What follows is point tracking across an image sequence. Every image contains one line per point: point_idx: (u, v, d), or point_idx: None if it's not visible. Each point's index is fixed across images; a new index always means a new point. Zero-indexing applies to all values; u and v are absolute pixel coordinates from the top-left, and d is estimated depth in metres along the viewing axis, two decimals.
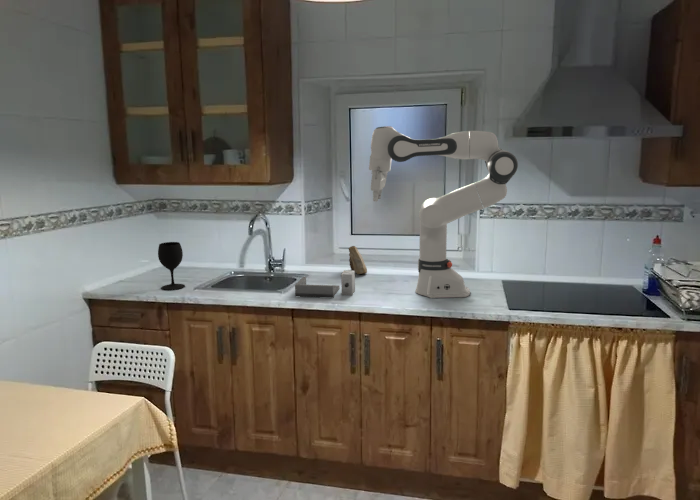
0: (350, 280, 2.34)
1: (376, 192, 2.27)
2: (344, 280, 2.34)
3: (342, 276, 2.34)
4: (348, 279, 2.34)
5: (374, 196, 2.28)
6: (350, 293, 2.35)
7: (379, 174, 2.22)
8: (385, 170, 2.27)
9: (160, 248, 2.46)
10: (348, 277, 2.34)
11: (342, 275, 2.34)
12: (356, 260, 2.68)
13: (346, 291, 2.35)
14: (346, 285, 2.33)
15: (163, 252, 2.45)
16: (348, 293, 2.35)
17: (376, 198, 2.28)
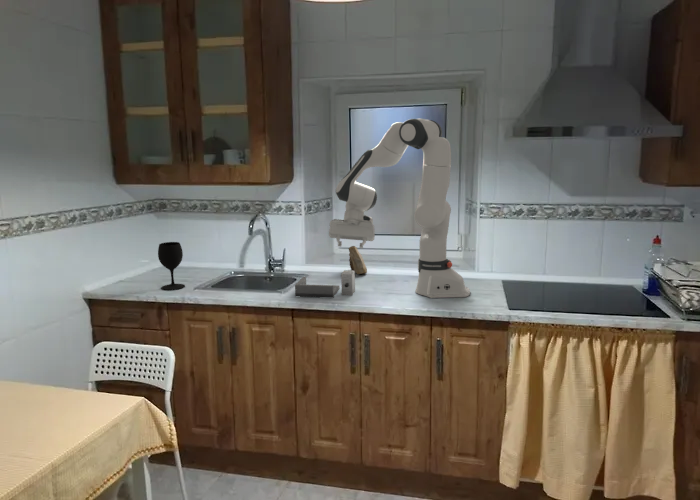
0: (350, 280, 2.34)
1: None
2: (344, 280, 2.34)
3: (342, 276, 2.34)
4: (348, 279, 2.34)
5: None
6: (350, 293, 2.35)
7: None
8: (345, 218, 2.50)
9: (160, 248, 2.46)
10: (348, 277, 2.34)
11: (342, 275, 2.34)
12: (356, 260, 2.68)
13: (346, 291, 2.35)
14: (346, 285, 2.33)
15: (163, 252, 2.45)
16: (348, 293, 2.35)
17: (338, 242, 2.47)
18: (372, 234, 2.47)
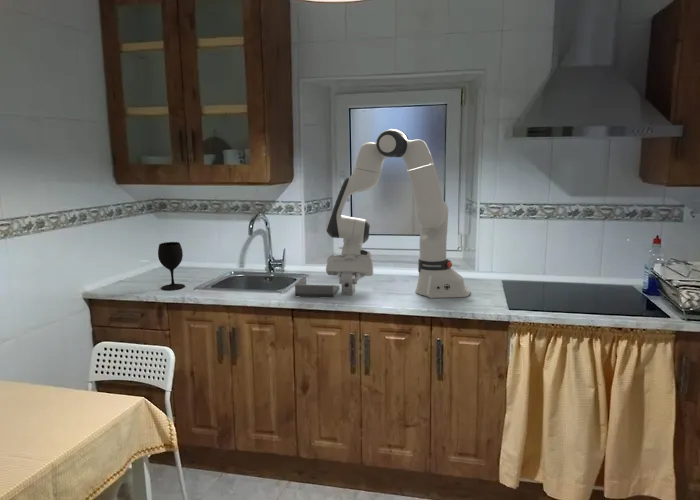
0: (350, 280, 2.34)
1: (337, 274, 2.40)
2: (344, 280, 2.34)
3: (342, 276, 2.34)
4: (348, 279, 2.34)
5: None
6: (350, 293, 2.35)
7: None
8: (342, 254, 2.42)
9: (160, 248, 2.46)
10: (348, 277, 2.34)
11: (342, 275, 2.34)
12: None
13: (346, 291, 2.35)
14: (346, 285, 2.33)
15: (163, 252, 2.45)
16: (348, 293, 2.35)
17: None
18: (370, 269, 2.37)
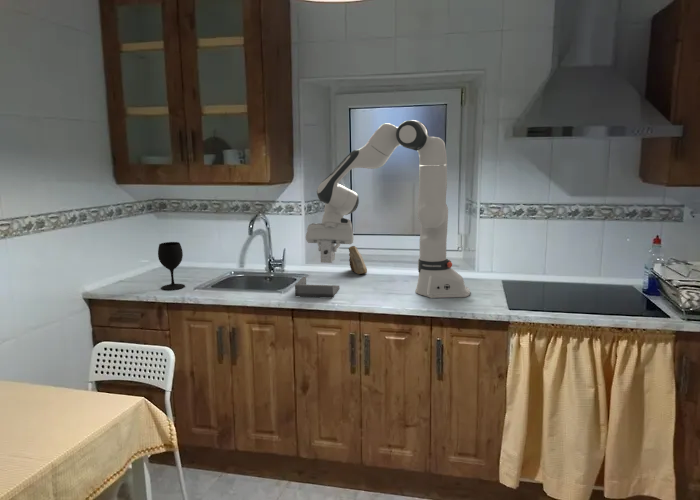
0: (329, 247, 2.32)
1: None
2: (323, 247, 2.32)
3: (321, 243, 2.32)
4: (327, 246, 2.32)
5: None
6: (329, 260, 2.33)
7: None
8: (322, 222, 2.40)
9: (160, 248, 2.46)
10: (327, 244, 2.32)
11: (321, 242, 2.32)
12: (356, 260, 2.68)
13: (325, 258, 2.33)
14: (325, 252, 2.32)
15: (163, 252, 2.45)
16: (327, 260, 2.33)
17: None
18: (350, 237, 2.36)
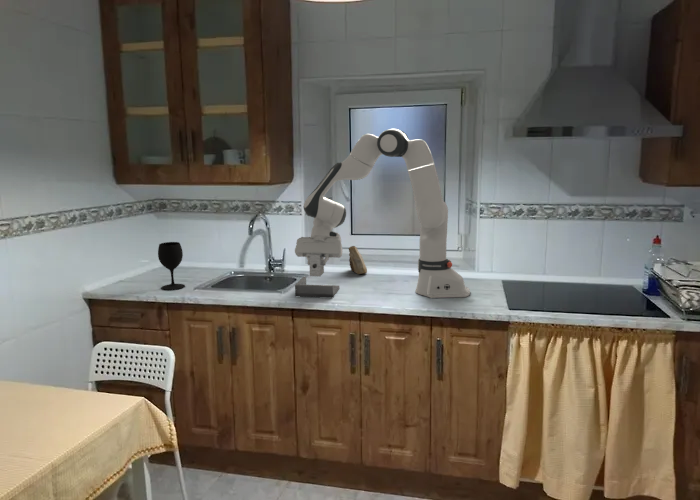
0: (318, 261, 2.33)
1: None
2: (312, 261, 2.34)
3: (310, 257, 2.34)
4: (316, 260, 2.33)
5: (308, 260, 2.39)
6: (318, 274, 2.35)
7: None
8: (311, 235, 2.42)
9: (160, 248, 2.46)
10: (316, 258, 2.33)
11: (310, 256, 2.34)
12: (356, 260, 2.68)
13: (314, 272, 2.35)
14: (314, 266, 2.33)
15: (163, 252, 2.45)
16: (316, 274, 2.35)
17: None
18: (338, 250, 2.37)
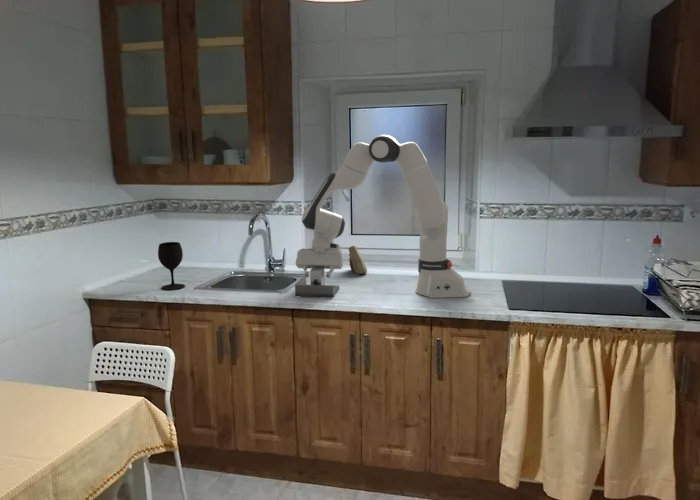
0: (319, 276, 2.35)
1: None
2: (313, 276, 2.35)
3: (311, 272, 2.35)
4: (317, 275, 2.35)
5: None
6: None
7: None
8: (312, 247, 2.43)
9: (160, 248, 2.46)
10: (317, 273, 2.35)
11: (311, 271, 2.35)
12: (356, 260, 2.68)
13: None
14: (315, 281, 2.34)
15: (163, 252, 2.45)
16: None
17: None
18: (339, 262, 2.38)
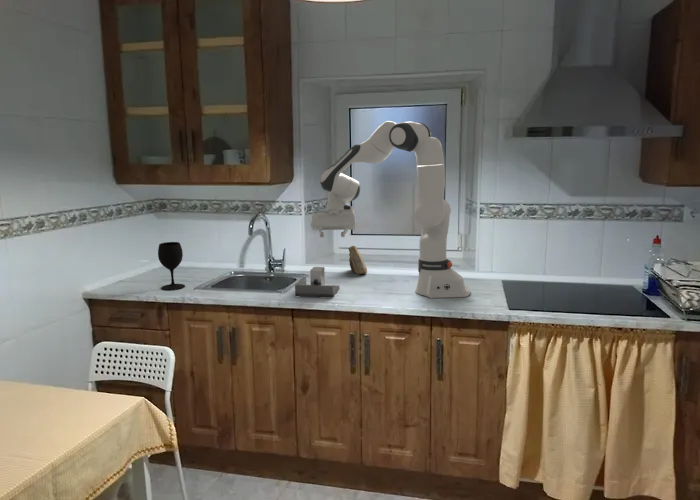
0: (319, 276, 2.35)
1: None
2: (313, 276, 2.35)
3: (311, 272, 2.35)
4: (317, 275, 2.35)
5: (320, 233, 2.50)
6: None
7: None
8: (326, 209, 2.53)
9: (160, 248, 2.46)
10: (317, 273, 2.35)
11: (311, 271, 2.35)
12: (356, 260, 2.68)
13: None
14: (315, 281, 2.34)
15: (163, 252, 2.45)
16: None
17: None
18: (353, 222, 2.48)
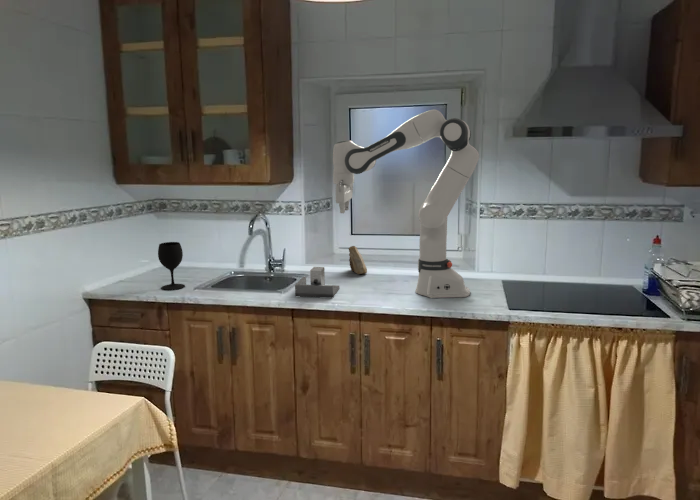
0: (319, 276, 2.35)
1: (342, 204, 2.36)
2: (313, 276, 2.35)
3: (311, 272, 2.35)
4: (317, 275, 2.35)
5: (340, 208, 2.37)
6: None
7: (342, 187, 2.32)
8: (348, 182, 2.37)
9: (160, 248, 2.46)
10: (317, 273, 2.35)
11: (311, 271, 2.35)
12: (356, 260, 2.68)
13: None
14: (315, 281, 2.34)
15: (163, 252, 2.45)
16: None
17: (343, 210, 2.38)
18: None
